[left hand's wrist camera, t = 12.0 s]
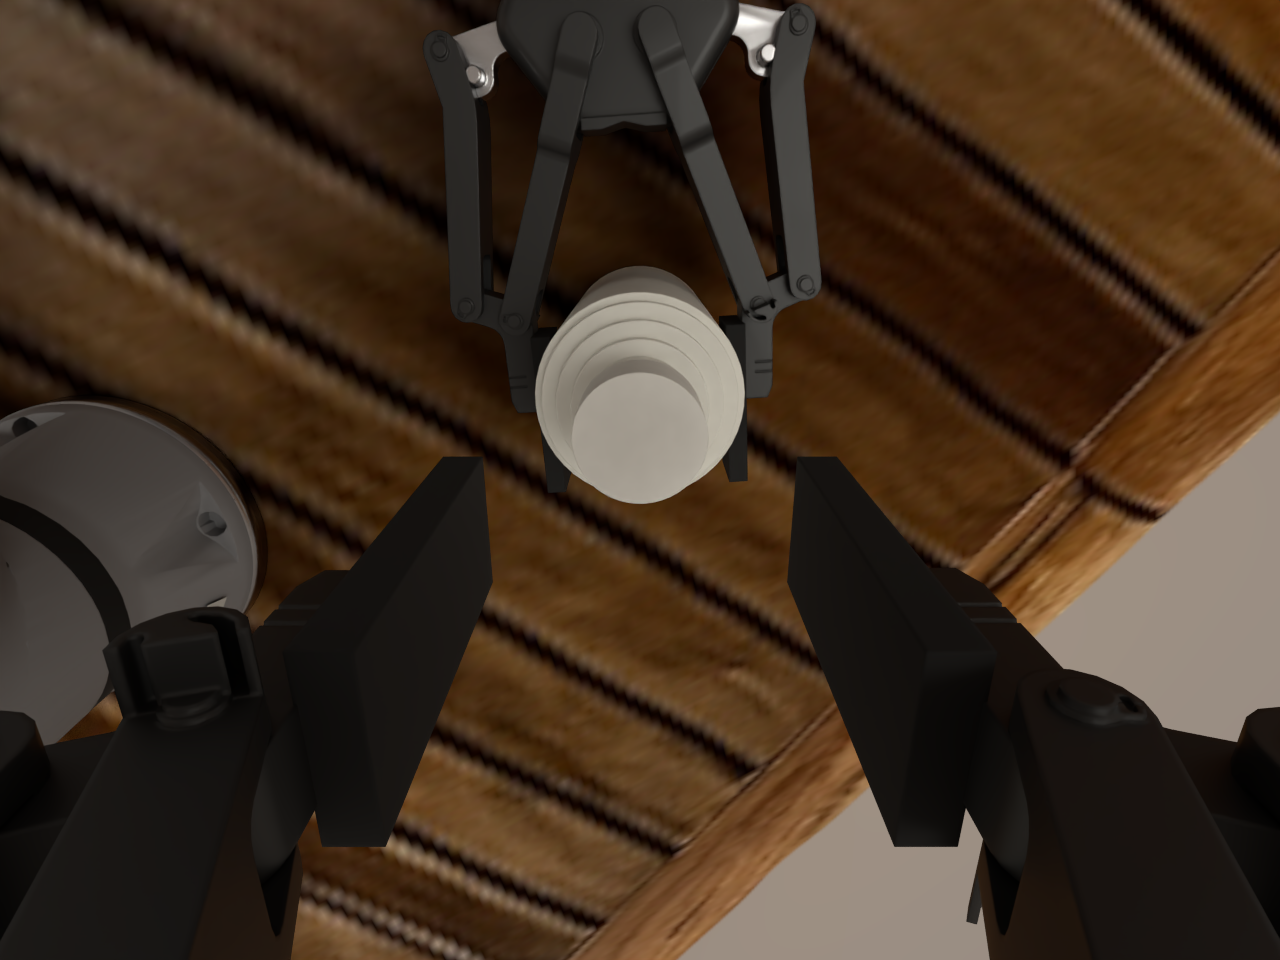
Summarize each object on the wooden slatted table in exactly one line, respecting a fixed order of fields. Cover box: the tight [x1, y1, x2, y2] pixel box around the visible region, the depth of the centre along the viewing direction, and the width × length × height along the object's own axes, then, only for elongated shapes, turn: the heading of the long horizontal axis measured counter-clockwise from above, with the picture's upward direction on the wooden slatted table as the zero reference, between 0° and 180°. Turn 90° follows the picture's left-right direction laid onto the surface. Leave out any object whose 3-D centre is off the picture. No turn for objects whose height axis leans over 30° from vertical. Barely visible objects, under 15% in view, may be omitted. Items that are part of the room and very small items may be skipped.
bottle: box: [535, 266, 745, 486], centre depth 27 cm, size 7×7×17 cm
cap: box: [571, 359, 709, 504], centre depth 20 cm, size 4×4×2 cm
